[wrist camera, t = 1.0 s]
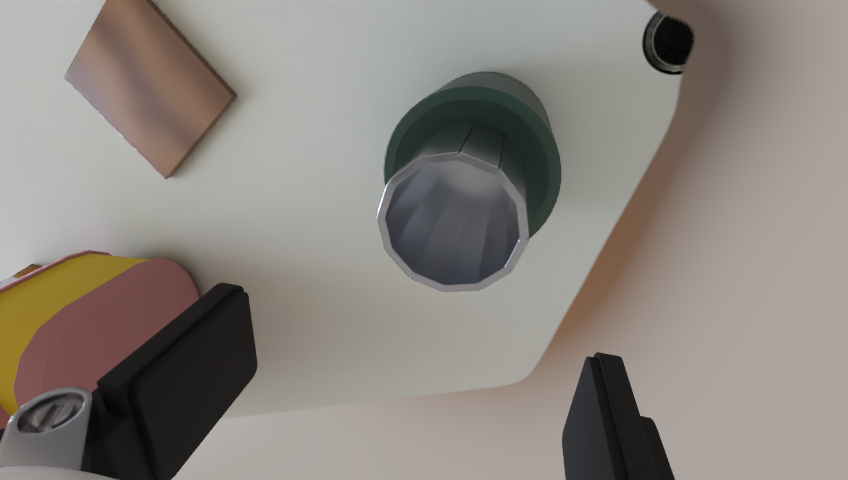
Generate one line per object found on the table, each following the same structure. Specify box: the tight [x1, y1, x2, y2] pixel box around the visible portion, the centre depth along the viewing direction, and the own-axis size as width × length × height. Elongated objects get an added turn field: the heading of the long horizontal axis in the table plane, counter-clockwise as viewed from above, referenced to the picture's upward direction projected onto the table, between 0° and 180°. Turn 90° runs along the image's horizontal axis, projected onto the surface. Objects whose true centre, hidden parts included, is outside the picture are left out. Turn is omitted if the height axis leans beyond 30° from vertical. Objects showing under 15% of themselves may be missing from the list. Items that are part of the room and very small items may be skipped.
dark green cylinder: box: [384, 72, 561, 239], centre depth 29 cm, size 10×10×10 cm
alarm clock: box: [0, 250, 199, 429], centre depth 41 cm, size 18×11×19 cm, turn 0°
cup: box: [377, 122, 529, 292], centre depth 22 cm, size 7×7×7 cm
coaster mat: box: [64, 0, 237, 179], centre depth 37 cm, size 12×12×1 cm
